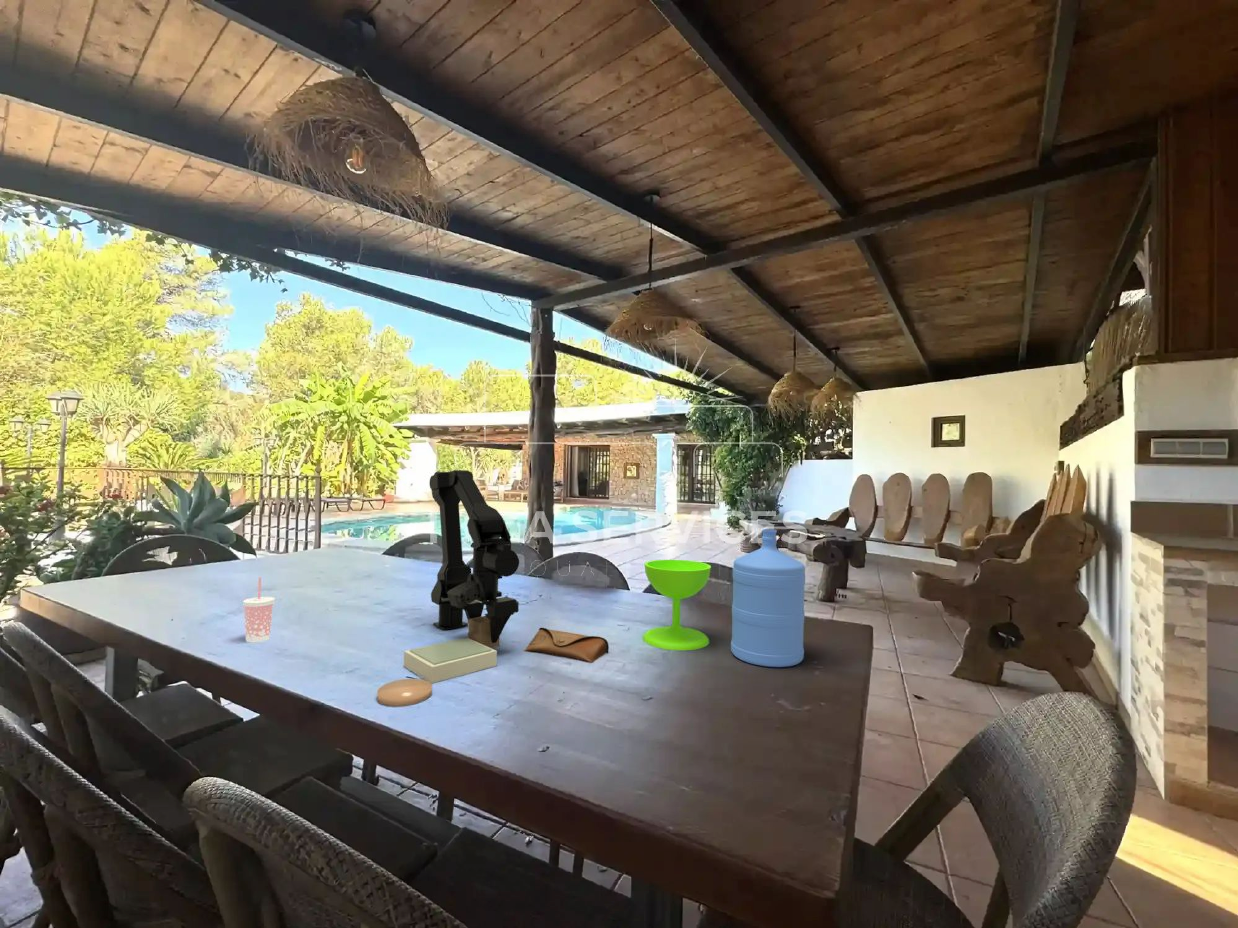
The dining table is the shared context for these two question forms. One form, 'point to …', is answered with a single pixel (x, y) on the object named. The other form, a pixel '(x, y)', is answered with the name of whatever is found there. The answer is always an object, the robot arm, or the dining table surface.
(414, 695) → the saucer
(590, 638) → the sunglasses case
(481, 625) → the block
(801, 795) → the dining table surface
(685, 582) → the wineglass
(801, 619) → the water jug
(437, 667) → the base
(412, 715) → the dining table surface
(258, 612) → the beverage cup
